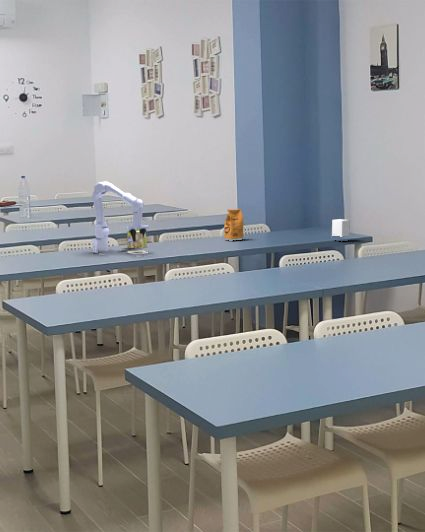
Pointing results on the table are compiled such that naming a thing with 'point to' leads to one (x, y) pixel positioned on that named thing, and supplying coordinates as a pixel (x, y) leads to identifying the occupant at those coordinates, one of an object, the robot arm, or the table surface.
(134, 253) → the parts tray
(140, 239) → the beech block
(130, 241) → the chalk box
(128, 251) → the rail plate
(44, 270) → the table surface
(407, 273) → the table surface
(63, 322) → the table surface
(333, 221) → the supplement box
